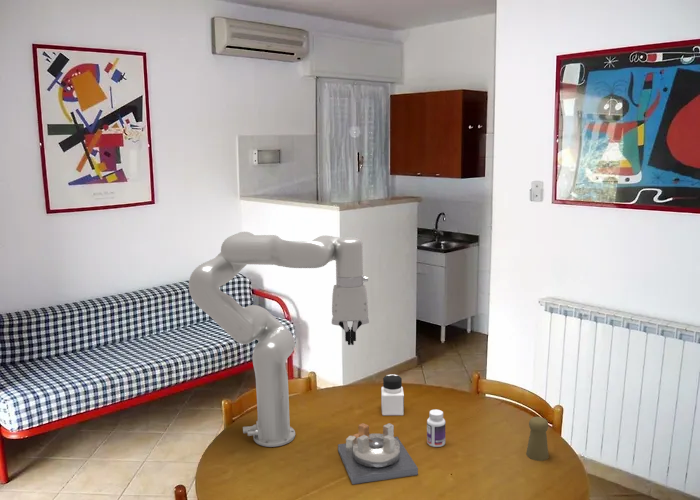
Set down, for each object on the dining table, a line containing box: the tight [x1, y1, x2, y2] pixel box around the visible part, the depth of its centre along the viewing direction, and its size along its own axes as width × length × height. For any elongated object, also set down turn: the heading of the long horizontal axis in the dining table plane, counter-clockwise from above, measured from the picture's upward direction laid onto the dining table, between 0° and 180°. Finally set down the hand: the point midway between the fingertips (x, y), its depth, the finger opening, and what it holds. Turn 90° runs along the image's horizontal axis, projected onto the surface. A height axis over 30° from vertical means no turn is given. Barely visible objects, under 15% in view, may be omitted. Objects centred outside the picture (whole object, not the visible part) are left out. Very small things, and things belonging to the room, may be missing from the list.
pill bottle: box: [426, 409, 446, 448], centre depth 178 cm, size 5×5×10 cm
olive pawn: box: [525, 416, 550, 462], centre depth 170 cm, size 6×6×11 cm
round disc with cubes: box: [352, 422, 400, 467], centre depth 168 cm, size 15×13×7 cm
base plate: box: [337, 435, 419, 485], centre depth 168 cm, size 18×18×6 cm
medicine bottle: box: [380, 374, 405, 416], centre depth 199 cm, size 7×7×12 cm
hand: (350, 343), depth 173 cm, fingers closed
